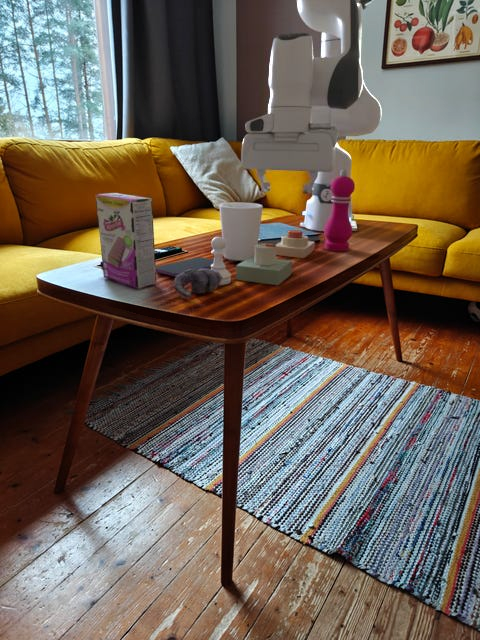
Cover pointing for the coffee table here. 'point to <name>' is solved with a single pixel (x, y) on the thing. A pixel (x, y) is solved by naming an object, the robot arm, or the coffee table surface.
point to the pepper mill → (339, 214)
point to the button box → (295, 247)
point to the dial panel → (264, 271)
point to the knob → (265, 254)
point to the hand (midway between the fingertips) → (286, 192)
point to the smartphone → (184, 266)
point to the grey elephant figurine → (197, 281)
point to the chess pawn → (220, 259)
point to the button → (295, 234)
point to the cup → (240, 229)
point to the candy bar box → (127, 239)
